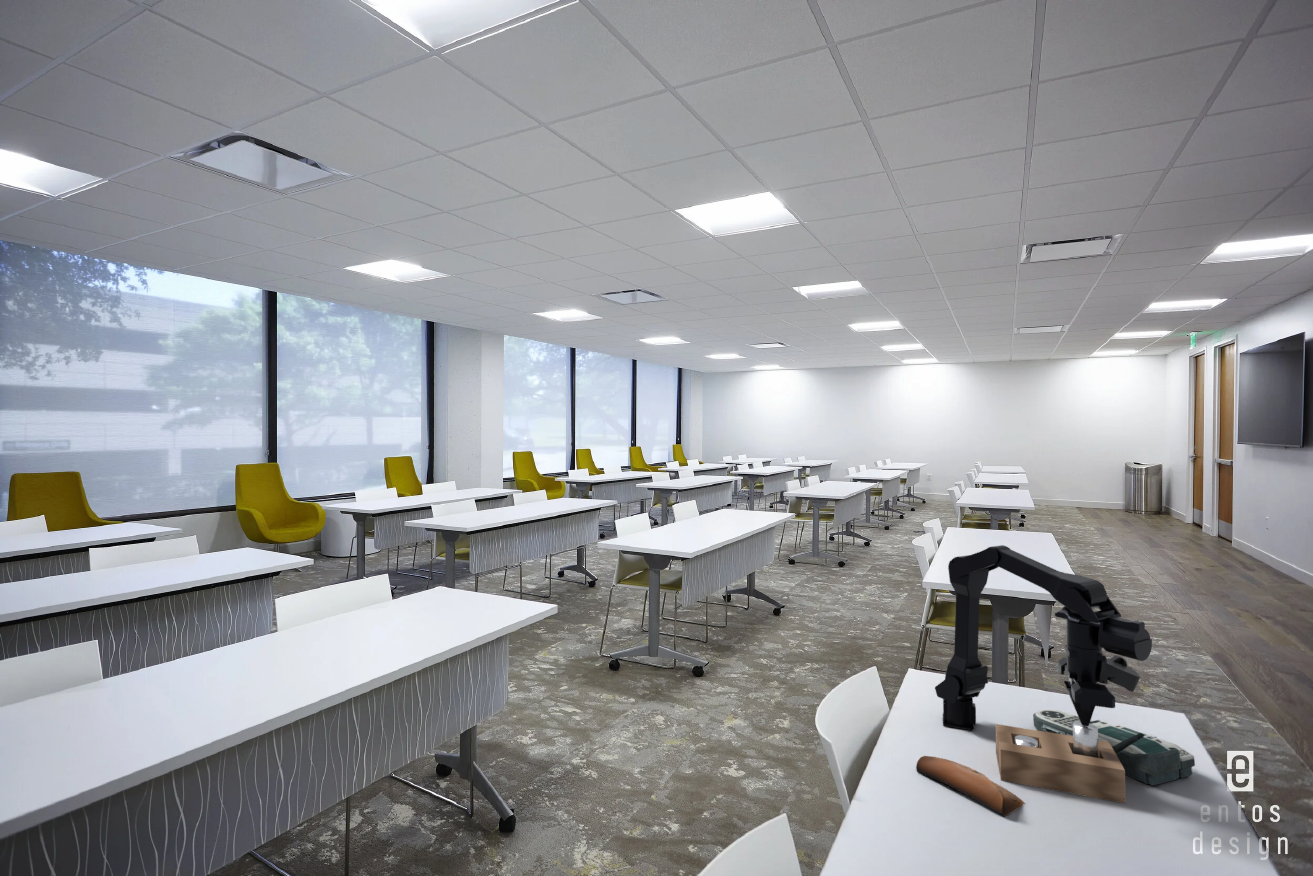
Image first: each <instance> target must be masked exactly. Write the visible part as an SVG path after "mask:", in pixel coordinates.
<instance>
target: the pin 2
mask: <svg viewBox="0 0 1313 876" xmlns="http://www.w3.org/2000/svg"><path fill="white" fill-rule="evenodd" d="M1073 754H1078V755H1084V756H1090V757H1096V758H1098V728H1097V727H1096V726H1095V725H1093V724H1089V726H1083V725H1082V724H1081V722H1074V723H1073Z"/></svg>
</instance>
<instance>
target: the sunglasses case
mask: <svg viewBox="0 0 1313 876" xmlns="http://www.w3.org/2000/svg"><path fill="white" fill-rule="evenodd" d="M915 768H916V769H915V770H916V772H917V773H920V774H922V775H924V776H927V777H929V778H931V779H933V780H936V781H938V782H940V783H943V784H946V785H947V786H949V787H951V788H953V790H956V791H958V792H960V793H962V794H964V795H966V796H968V797H970V798H972V799H973V800H975V801H977V802H979V803H981V804H983V805H985V806H987V807H988V808H990V809H993V810H994V811H996V812H997V813H999V814H1002V816H1003V817H1006V816H1008V815H1009V814H1011V813H1013V812H1015V811H1016V810H1018V809H1019V808H1021V807H1022V806H1023V805H1025V804H1026V802H1025V801H1024V800H1022V799H1021V798H1020V797H1019V796H1017V795H1016V794H1014V793H1013V792H1012V791H1010V790H1008V789H1007V788H1004V787H1003V786H1001V785H999V784H998V783H996V782H994V781H992V780H991V779H990V778H988V777H987V776H986V775H985V774H984V773H982V772H979V771H977V770H976V769H973V768H971V767H970V766H966V765H964V764H961V763H958V762H956V761H954V760H950V759H947V758H943V757H937V756H930V755H923V756H921V757H919V759H918V760H917V762H916V766H915Z"/></svg>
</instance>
